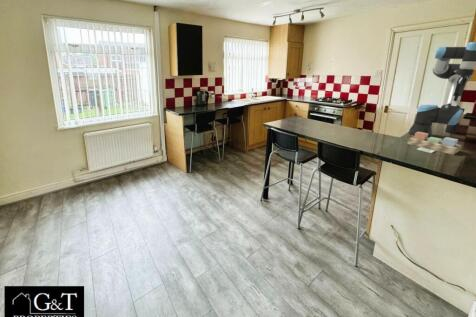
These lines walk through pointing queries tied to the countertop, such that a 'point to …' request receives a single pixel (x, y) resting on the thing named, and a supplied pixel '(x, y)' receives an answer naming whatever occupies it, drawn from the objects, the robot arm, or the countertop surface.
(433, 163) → the countertop surface
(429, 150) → the card
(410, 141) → the key panel
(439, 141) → the sage key
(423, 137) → the terracotta key
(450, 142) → the slate key
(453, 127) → the travel mug
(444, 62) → the robot arm
